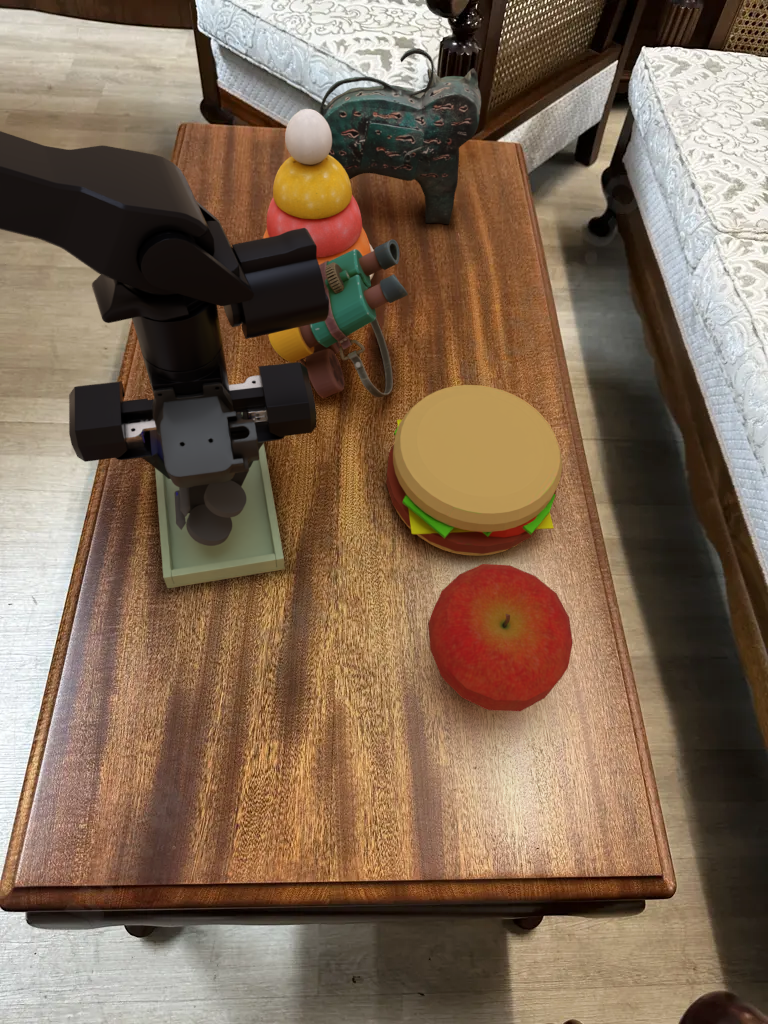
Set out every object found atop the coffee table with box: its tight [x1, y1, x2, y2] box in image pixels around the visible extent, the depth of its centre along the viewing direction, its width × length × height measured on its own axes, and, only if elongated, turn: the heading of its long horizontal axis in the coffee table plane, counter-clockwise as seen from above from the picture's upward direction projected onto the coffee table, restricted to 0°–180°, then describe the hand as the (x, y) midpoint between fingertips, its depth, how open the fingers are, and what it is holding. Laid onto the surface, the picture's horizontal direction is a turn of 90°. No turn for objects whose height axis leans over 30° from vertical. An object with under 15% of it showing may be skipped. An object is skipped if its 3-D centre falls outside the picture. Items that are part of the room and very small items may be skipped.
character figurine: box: [174, 412, 249, 546], centre depth 63 cm, size 8×7×15 cm
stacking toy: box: [262, 108, 375, 282], centre depth 79 cm, size 14×14×20 cm
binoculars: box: [268, 238, 409, 399], centre depth 73 cm, size 14×14×15 cm
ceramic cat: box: [318, 47, 482, 225], centre depth 86 cm, size 20×6×20 cm, turn 89°
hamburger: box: [385, 384, 563, 557], centre depth 68 cm, size 16×16×8 cm
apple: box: [427, 563, 574, 712], centre depth 56 cm, size 11×11×12 cm
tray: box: [154, 442, 286, 589], centre depth 68 cm, size 10×17×2 cm, turn 13°
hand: (209, 469), depth 65 cm, fingers closed on character figurine, 6 cm apart
